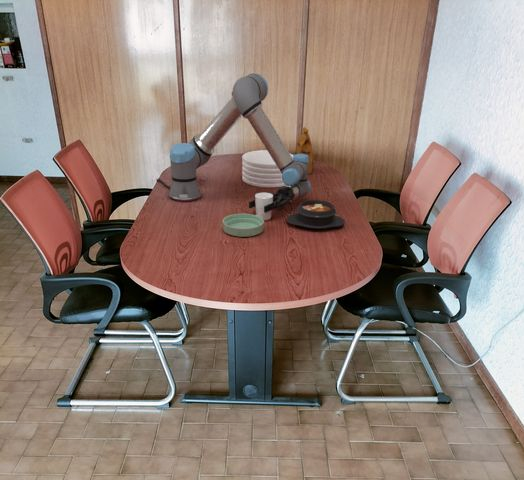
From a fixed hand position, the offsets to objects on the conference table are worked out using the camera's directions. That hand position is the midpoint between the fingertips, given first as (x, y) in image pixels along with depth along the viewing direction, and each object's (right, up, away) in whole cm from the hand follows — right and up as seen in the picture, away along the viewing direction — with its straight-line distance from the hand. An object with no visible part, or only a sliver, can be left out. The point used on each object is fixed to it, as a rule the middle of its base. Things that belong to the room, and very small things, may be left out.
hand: (257, 207), depth 224 cm
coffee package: (+25, +39, +67) cm, 81 cm away
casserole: (+25, -7, +1) cm, 26 cm away
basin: (-6, -11, -6) cm, 14 cm away
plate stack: (+5, +30, +53) cm, 61 cm away
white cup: (+3, -3, +7) cm, 8 cm away
